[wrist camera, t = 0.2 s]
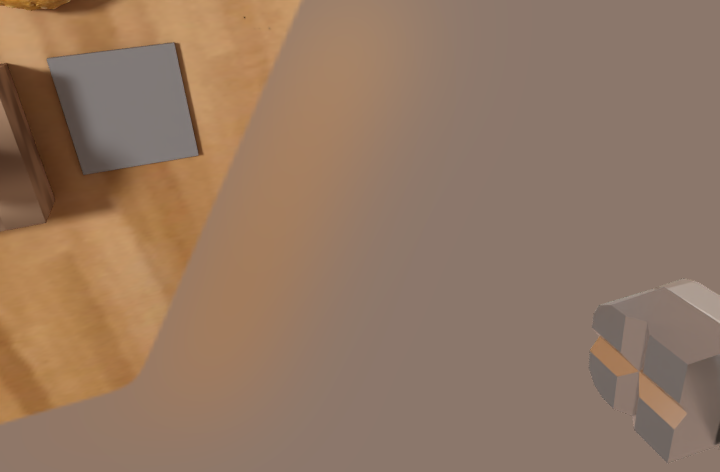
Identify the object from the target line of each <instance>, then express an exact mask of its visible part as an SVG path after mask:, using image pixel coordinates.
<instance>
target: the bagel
mask: <svg viewBox="0 0 720 472" xmlns="http://www.w3.org/2000/svg"><path fill="white" fill-rule="evenodd" d="M69 1H70V0H0V5H3V6H7V7H9V8H22V9H26V10H31V11H32V10H36V9H56V8H57V7H58V6H61V5H62V4H65V3H68V2H69Z"/></svg>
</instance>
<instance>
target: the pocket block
mask: <svg viewBox="0 0 720 472" xmlns="http://www.w3.org/2000/svg"><path fill="white" fill-rule="evenodd" d="M54 202H55V199H54V196H53V193H52V190H51V187H50V184H49V182H48V179H47V176H46V173H45V170H44V167H43V165H42V162H41V159H40V156H39V153H38V150H37V147H36V145H35V142H34V139H33V136H32V133H31V130H30V128H29V125H28V122H27V119H26V116H25V113H24V111H23V108H22V105H21V102H20V99H19V96H18V94H17V91H16V88H15V85H14V82H13V79H12V77H11V74H10V71H9V68H8V65H7V63H4V64H0V231H5V230H11V229H16V228H21V227H27V226H32V225H38V224H43V223H46V221H47V219H48V217H49V214H50V212H51V209H52V207H53V204H54Z"/></svg>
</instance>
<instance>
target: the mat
mask: <svg viewBox="0 0 720 472" xmlns="http://www.w3.org/2000/svg"><path fill="white" fill-rule="evenodd" d="M47 62H48V65H49V68H50V72H51V75H52V78H53V81H54V84H55V87H56V90H57V93H58V97H59V100H60V103H61V106H62V109H63V112H64V115H65V118H66V122H67V125H68V128H69V131H70V134H71V137H72V140H73V143H74V146H75V150H76V153H77V156H78V159H79V162H80V165H81V168H82V171H83V175H86V174H92V173H98V172H104V171H110V170H116V169H121V168H127V167H133V166H139V165H145V164H151V163H157V162H163V161H169V160H175V159H180V158H186V157H192V156H198V150H197V146H196V141H195V136H194V132H193V127H192V123H191V118H190V114H189V109H188V104H187V100H186V95H185V91H184V86H183V81H182V77H181V72H180V68H179V63H178V58H177V54H176V49H175V45H174V42H173V43H165V44H157V45H149V46H141V47H133V48H125V49H117V50H109V51H101V52H93V53H85V54H77V55H69V56H61V57H53V58H47Z"/></svg>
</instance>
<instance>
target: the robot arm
mask: <svg viewBox="0 0 720 472" xmlns="http://www.w3.org/2000/svg"><path fill="white" fill-rule="evenodd" d="M592 328H593V329H594V330H595V332H596V333H597V334H598V335H599V338H598V339H597V341H596V342H595V344H594V345H593V347H592V348H591V349H590V354H589V355H590V356H589V370H590V373H591V376H592V380H593V382H594V385H595V387H596V388H597V390H598V392H599V393H600V395H601V396H602V398H603V399H604V400H605V401H606V402H607V403H608V404H609V405H610V406H611V407H612V408H613V409H615V410H617V411H620V412H623V413H625V414H628V415H630V416H632V417H633V425H634V430H635V431H636V432H637V433H638V434H639V435H640V436H641V437H642V438H643V439H644V440H645V441H646V442H647V443H648V444H649V445H650V446H651V447H652V448H653V449H654V450H655V451H656V452H657V453H658V454H659V455H660V456H661V457H662V458H663V459H664V460H665V461H666V462H667V463H670V462H673V461H676V460H679V459H682V458H685V457H687V456H691V455H693V454H696V453H699V452H702V451H705V450H708V449H711V448H714V447H717V446H719V448H718V450H720V296H719V295H718V294H716V293H715V292H713V291H711V290H710V289H708V288H706V287H705V286H703V285H702V284H700V283H698V282H697V281H693V280H689V279H681V280H677V281H675V282H671V283H668V284H665V285H662V286H658V287H656V288H654V289H651V290H647V291H644V292H640V293H637V294H634V295H631V296H628V297H625V298H621V299H618V300H614V301H611V302H608V303H605V304H602V305H599V306H598V308H597V309H596V311H595V313H594V316H593V324H592Z"/></svg>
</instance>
